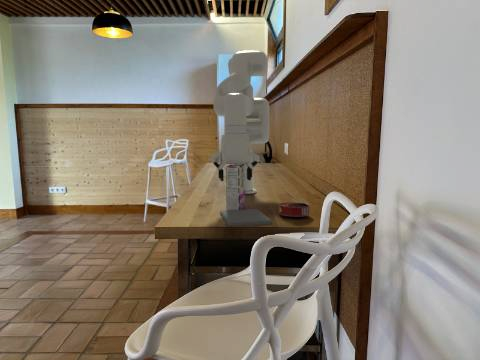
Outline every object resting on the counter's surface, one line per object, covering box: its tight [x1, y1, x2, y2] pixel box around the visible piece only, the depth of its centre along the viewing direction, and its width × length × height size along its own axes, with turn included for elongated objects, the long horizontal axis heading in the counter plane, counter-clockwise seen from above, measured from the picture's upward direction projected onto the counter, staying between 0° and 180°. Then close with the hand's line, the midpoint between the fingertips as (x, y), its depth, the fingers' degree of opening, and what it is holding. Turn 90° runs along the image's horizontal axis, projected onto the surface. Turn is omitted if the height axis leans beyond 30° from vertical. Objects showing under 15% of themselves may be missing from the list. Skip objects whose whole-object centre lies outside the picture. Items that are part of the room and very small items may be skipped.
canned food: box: [278, 187, 310, 218], centre depth 108 cm, size 11×10×10 cm
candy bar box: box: [225, 164, 246, 210], centre depth 117 cm, size 11×5×16 cm, turn 170°
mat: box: [219, 208, 272, 227], centre depth 105 cm, size 16×13×1 cm
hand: (235, 180), depth 116 cm, fingers open, 9 cm apart
